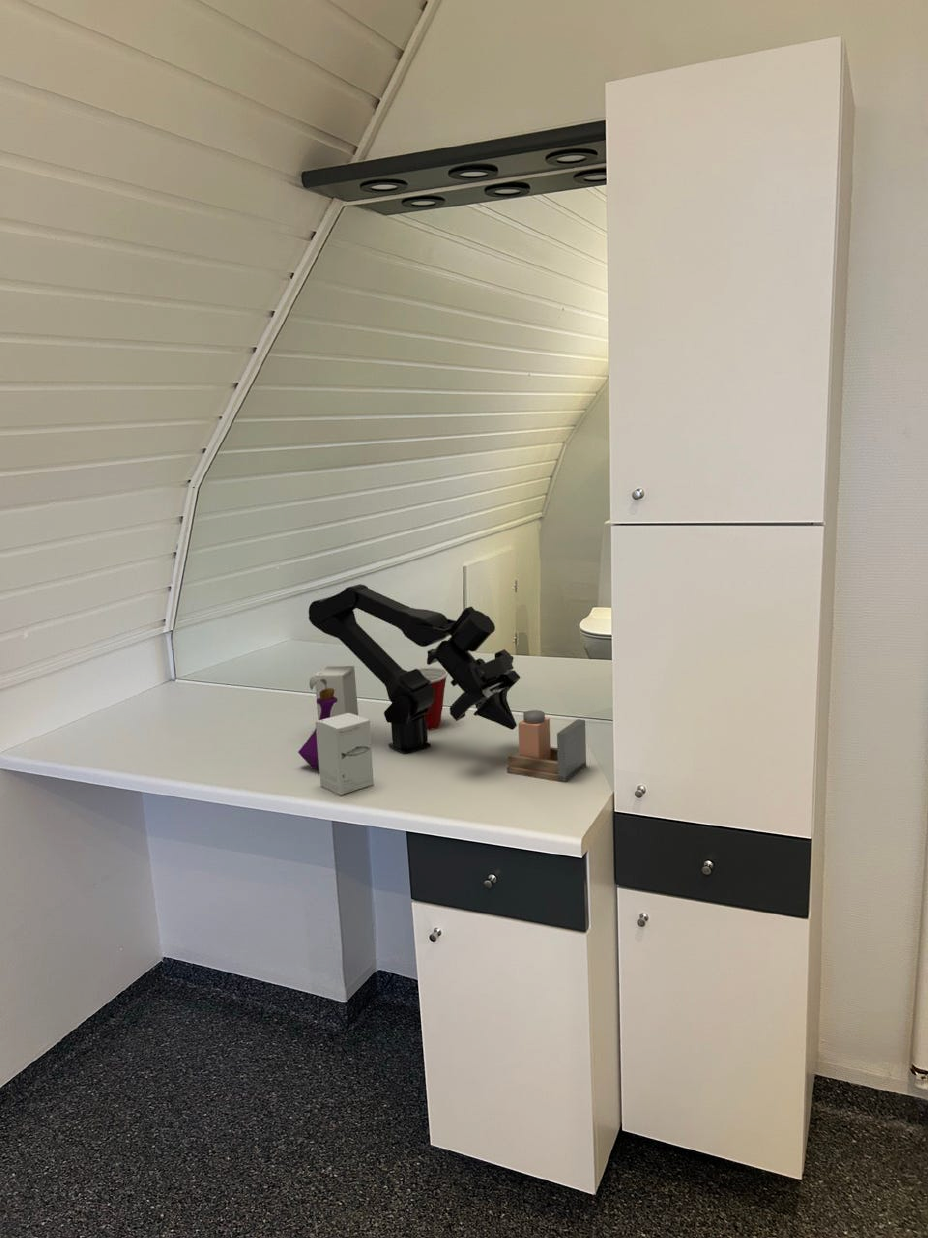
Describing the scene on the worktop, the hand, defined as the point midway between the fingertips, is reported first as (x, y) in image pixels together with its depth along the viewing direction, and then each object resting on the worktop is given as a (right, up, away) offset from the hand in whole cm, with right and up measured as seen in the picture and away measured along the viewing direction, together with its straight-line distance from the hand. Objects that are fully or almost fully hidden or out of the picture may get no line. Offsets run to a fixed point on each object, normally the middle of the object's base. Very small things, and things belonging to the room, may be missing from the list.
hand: (514, 727), depth 177 cm
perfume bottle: (-36, -8, +5) cm, 38 cm away
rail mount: (+7, -8, -2) cm, 10 cm away
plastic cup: (-18, -3, +27) cm, 32 cm away
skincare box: (-36, -5, +19) cm, 41 cm away
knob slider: (+4, -6, -1) cm, 7 cm away
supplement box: (-31, -10, -5) cm, 33 cm away
